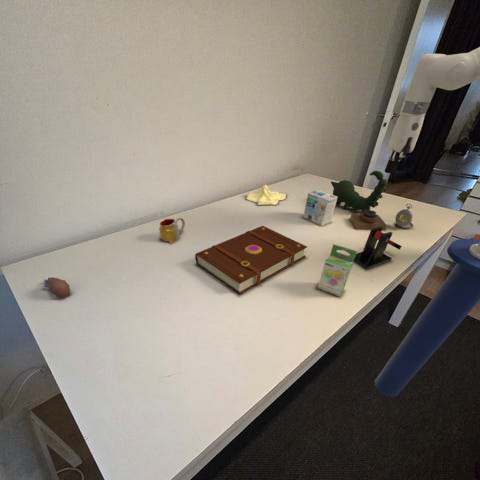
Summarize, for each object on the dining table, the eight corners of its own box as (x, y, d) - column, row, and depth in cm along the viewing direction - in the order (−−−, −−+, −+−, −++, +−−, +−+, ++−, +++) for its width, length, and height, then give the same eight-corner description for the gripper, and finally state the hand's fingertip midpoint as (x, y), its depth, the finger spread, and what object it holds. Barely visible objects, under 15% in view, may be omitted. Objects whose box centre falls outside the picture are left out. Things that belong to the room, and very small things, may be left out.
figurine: (42, 291, 79) (58, 303, 73) (32, 276, 76) (48, 287, 70) (60, 283, 82) (77, 293, 76) (51, 268, 79) (68, 277, 73)
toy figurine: (374, 216, 123) (330, 196, 134) (396, 173, 109) (344, 155, 120) (365, 222, 118) (320, 201, 129) (386, 178, 104) (333, 158, 115)
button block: (376, 219, 117) (380, 210, 114) (384, 230, 110) (388, 220, 107) (349, 219, 117) (352, 210, 114) (356, 229, 110) (359, 219, 107)
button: (372, 214, 112) (374, 210, 111) (375, 218, 109) (377, 214, 108) (363, 214, 112) (364, 210, 111) (366, 218, 109) (367, 213, 108)
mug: (170, 244, 98) (166, 227, 93) (157, 239, 100) (153, 222, 96) (192, 233, 104) (190, 216, 100) (180, 228, 107) (177, 212, 103)
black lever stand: (372, 250, 97) (384, 222, 90) (390, 261, 92) (404, 232, 85) (349, 258, 93) (359, 229, 85) (366, 269, 88) (379, 240, 81)
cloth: (265, 208, 123) (267, 195, 119) (238, 197, 132) (238, 184, 128) (294, 197, 134) (296, 184, 130) (267, 188, 144) (268, 175, 139)
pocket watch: (412, 224, 114) (424, 200, 107) (412, 232, 109) (425, 208, 101) (392, 220, 116) (402, 197, 109) (391, 228, 111) (402, 204, 104)
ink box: (316, 288, 80) (328, 249, 71) (321, 282, 83) (333, 243, 73) (339, 297, 78) (353, 257, 68) (343, 290, 80) (358, 251, 70)
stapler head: (384, 243, 96) (389, 237, 95) (398, 251, 93) (403, 245, 91) (368, 234, 88) (373, 227, 87) (383, 242, 84) (388, 235, 83)
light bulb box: (302, 217, 117) (307, 192, 109) (312, 214, 120) (317, 189, 112) (321, 226, 111) (328, 200, 103) (331, 222, 114) (338, 196, 107)
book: (305, 257, 93) (308, 245, 89) (240, 295, 77) (241, 281, 74) (260, 234, 104) (260, 222, 101) (195, 263, 89) (194, 250, 85)
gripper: (437, 112, 78) (408, 179, 91) (415, 106, 89) (391, 166, 102) (413, 111, 78) (386, 178, 91) (393, 105, 89) (372, 166, 102)
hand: (389, 172), depth 96 cm, fingers closed
